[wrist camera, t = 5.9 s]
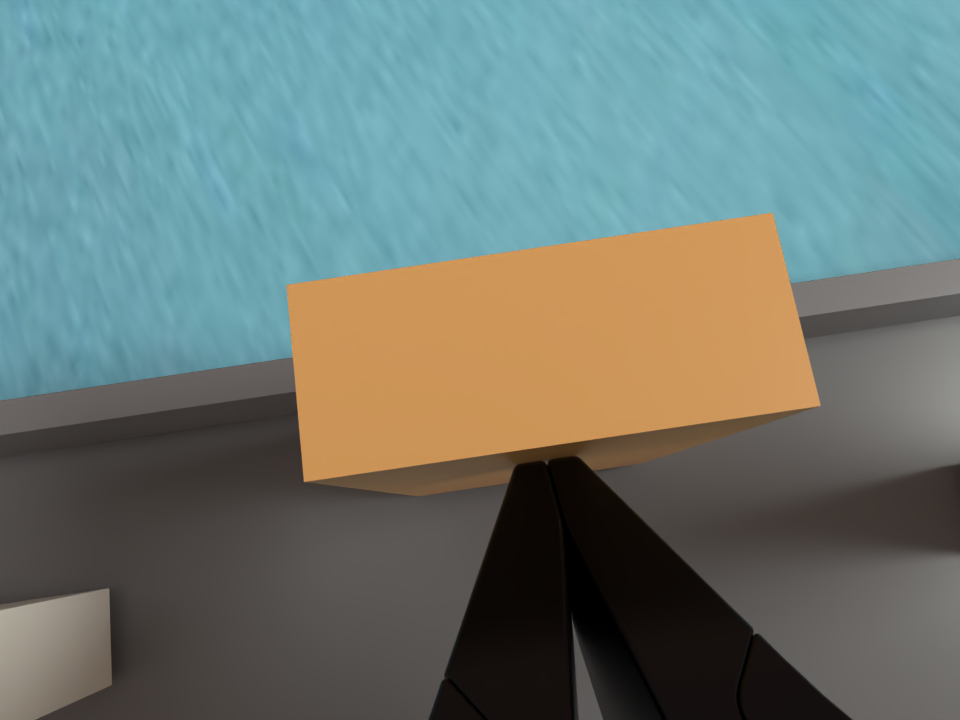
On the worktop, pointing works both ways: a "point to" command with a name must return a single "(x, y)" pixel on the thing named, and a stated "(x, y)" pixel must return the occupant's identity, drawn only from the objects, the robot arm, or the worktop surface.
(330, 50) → the worktop surface
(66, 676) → the key
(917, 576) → the long grey base rail
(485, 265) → the key middle
